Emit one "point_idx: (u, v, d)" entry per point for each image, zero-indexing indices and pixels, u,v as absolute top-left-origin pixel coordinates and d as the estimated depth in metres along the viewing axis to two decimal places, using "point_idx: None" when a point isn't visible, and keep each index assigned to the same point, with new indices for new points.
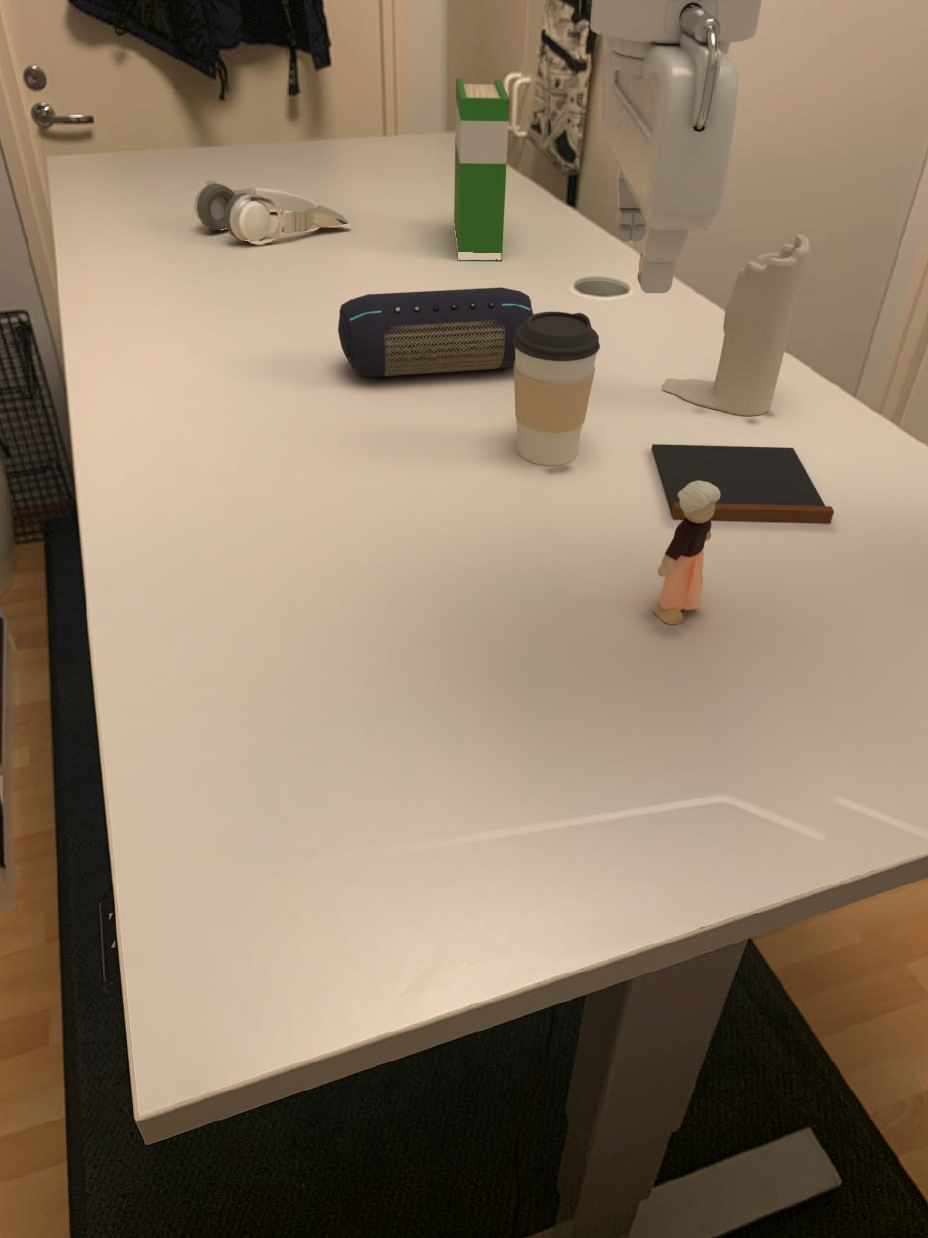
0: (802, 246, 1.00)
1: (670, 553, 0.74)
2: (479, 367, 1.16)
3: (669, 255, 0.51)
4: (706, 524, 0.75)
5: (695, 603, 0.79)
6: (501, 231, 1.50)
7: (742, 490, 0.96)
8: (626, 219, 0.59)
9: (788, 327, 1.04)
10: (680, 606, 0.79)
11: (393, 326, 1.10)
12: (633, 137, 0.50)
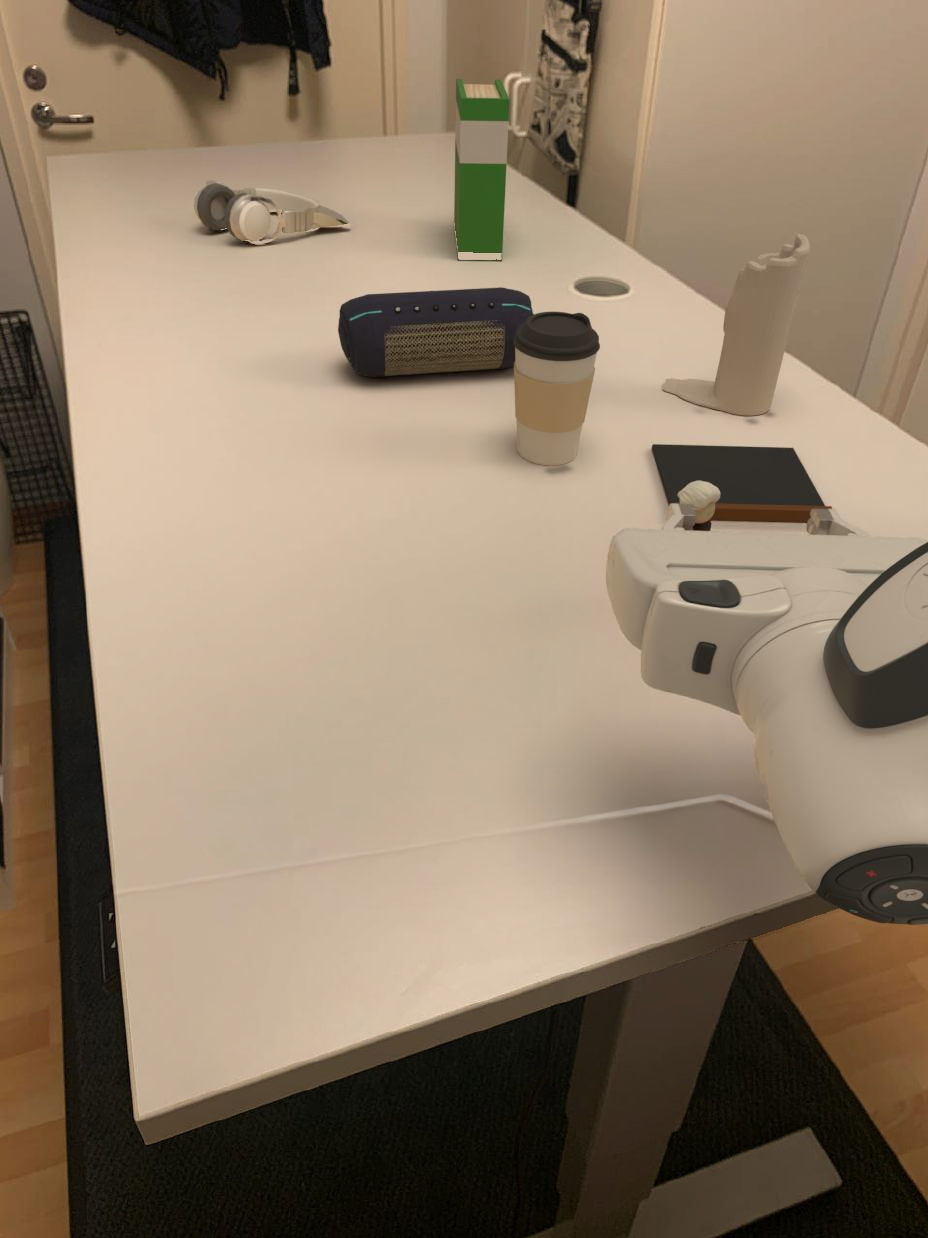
0: (802, 246, 1.00)
1: None
2: (479, 367, 1.16)
3: None
4: (706, 524, 0.75)
5: None
6: (501, 231, 1.50)
7: (742, 490, 0.96)
8: None
9: (788, 327, 1.04)
10: None
11: (393, 326, 1.10)
12: None
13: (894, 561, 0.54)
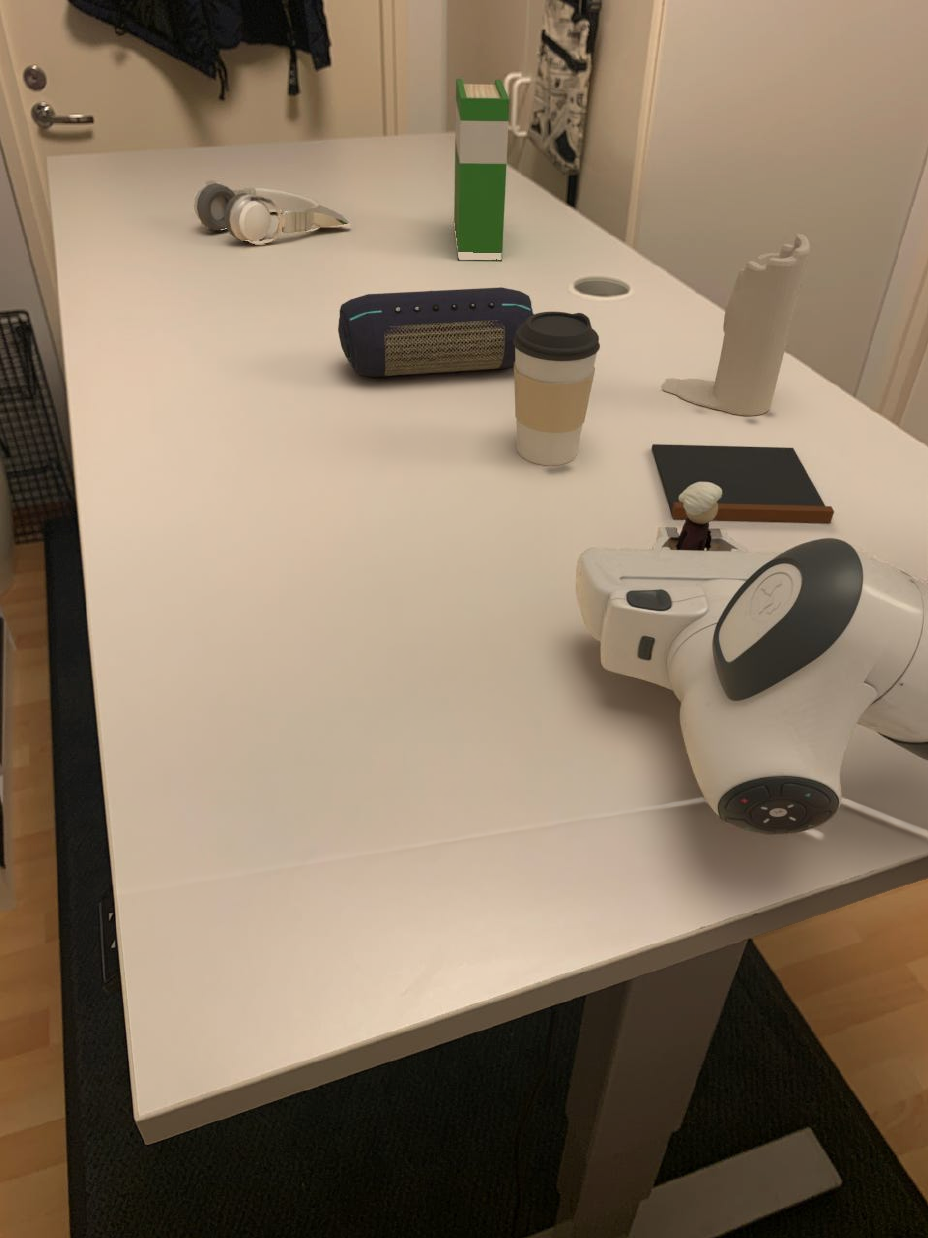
0: (802, 246, 1.00)
1: None
2: (479, 367, 1.16)
3: None
4: (708, 523, 0.76)
5: None
6: (501, 231, 1.50)
7: (742, 490, 0.96)
8: None
9: (788, 327, 1.04)
10: None
11: (393, 326, 1.10)
12: None
13: None
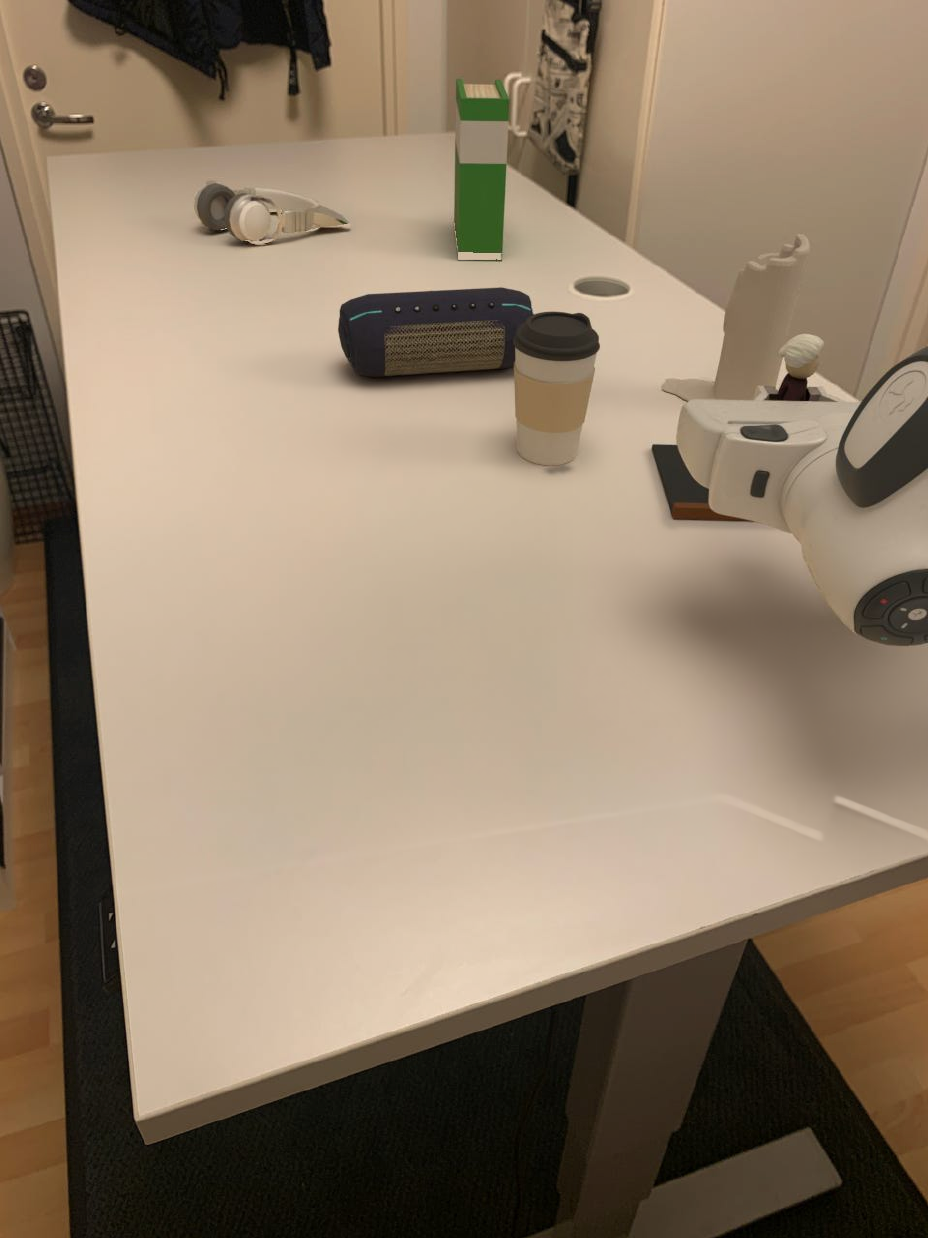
0: (802, 246, 1.00)
1: None
2: (479, 367, 1.16)
3: None
4: None
5: None
6: (501, 231, 1.50)
7: None
8: None
9: (788, 327, 1.04)
10: None
11: (393, 326, 1.10)
12: None
13: None
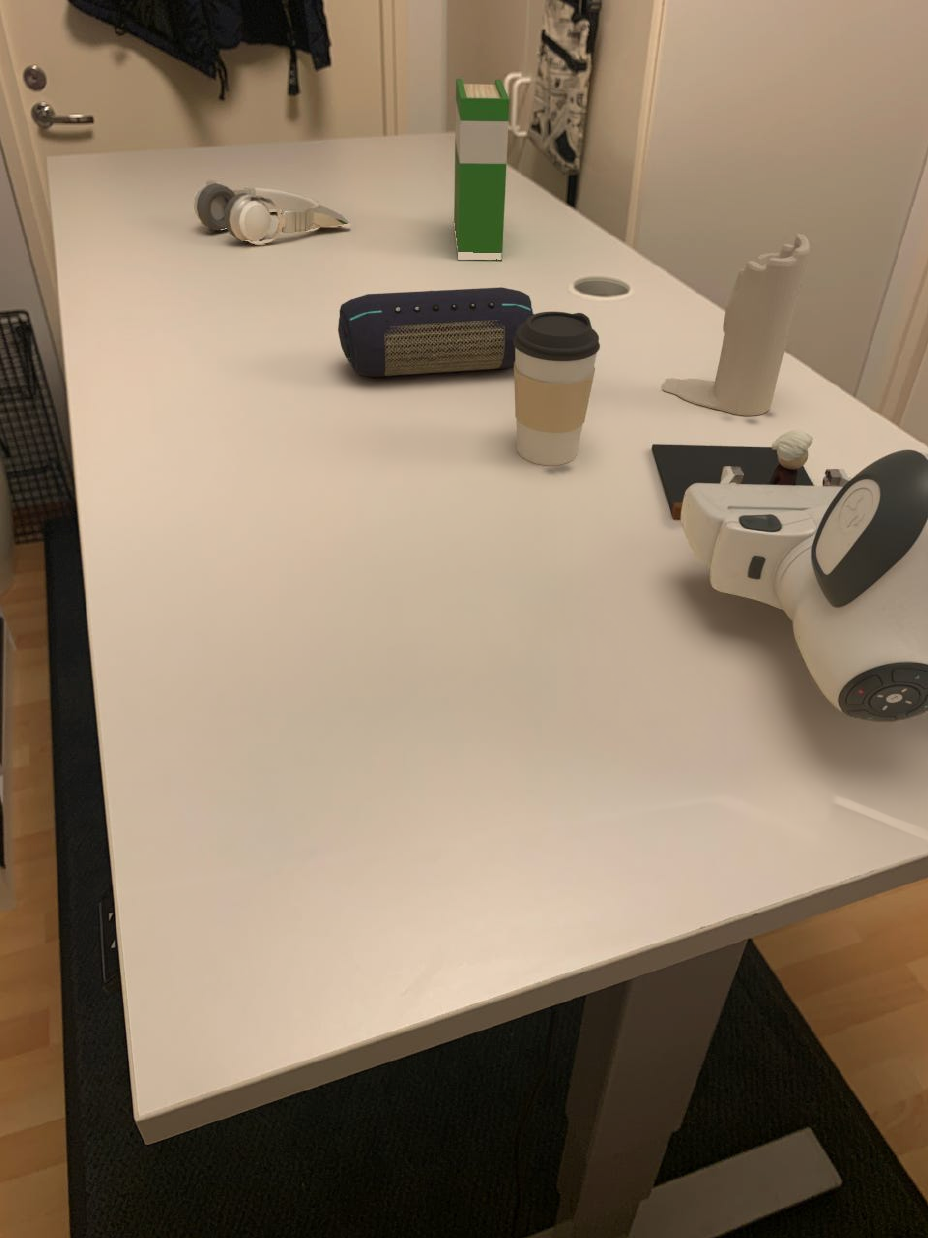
0: (802, 246, 1.00)
1: None
2: (479, 367, 1.16)
3: None
4: None
5: None
6: (501, 231, 1.50)
7: None
8: None
9: (788, 327, 1.04)
10: None
11: (393, 326, 1.10)
12: None
13: None
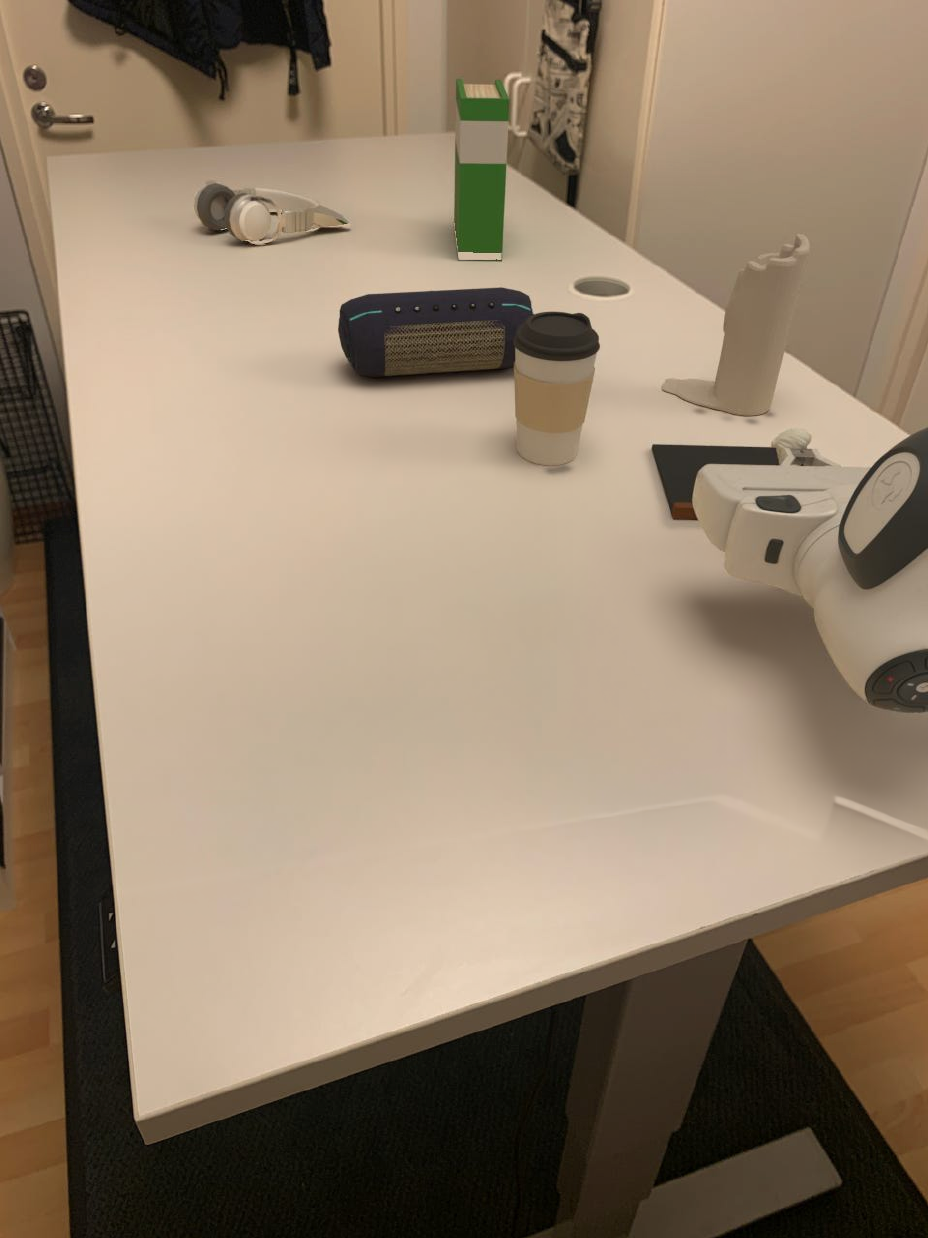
0: (802, 246, 1.00)
1: None
2: (479, 367, 1.16)
3: None
4: None
5: None
6: (501, 231, 1.50)
7: None
8: None
9: (788, 327, 1.04)
10: None
11: (393, 326, 1.10)
12: None
13: None
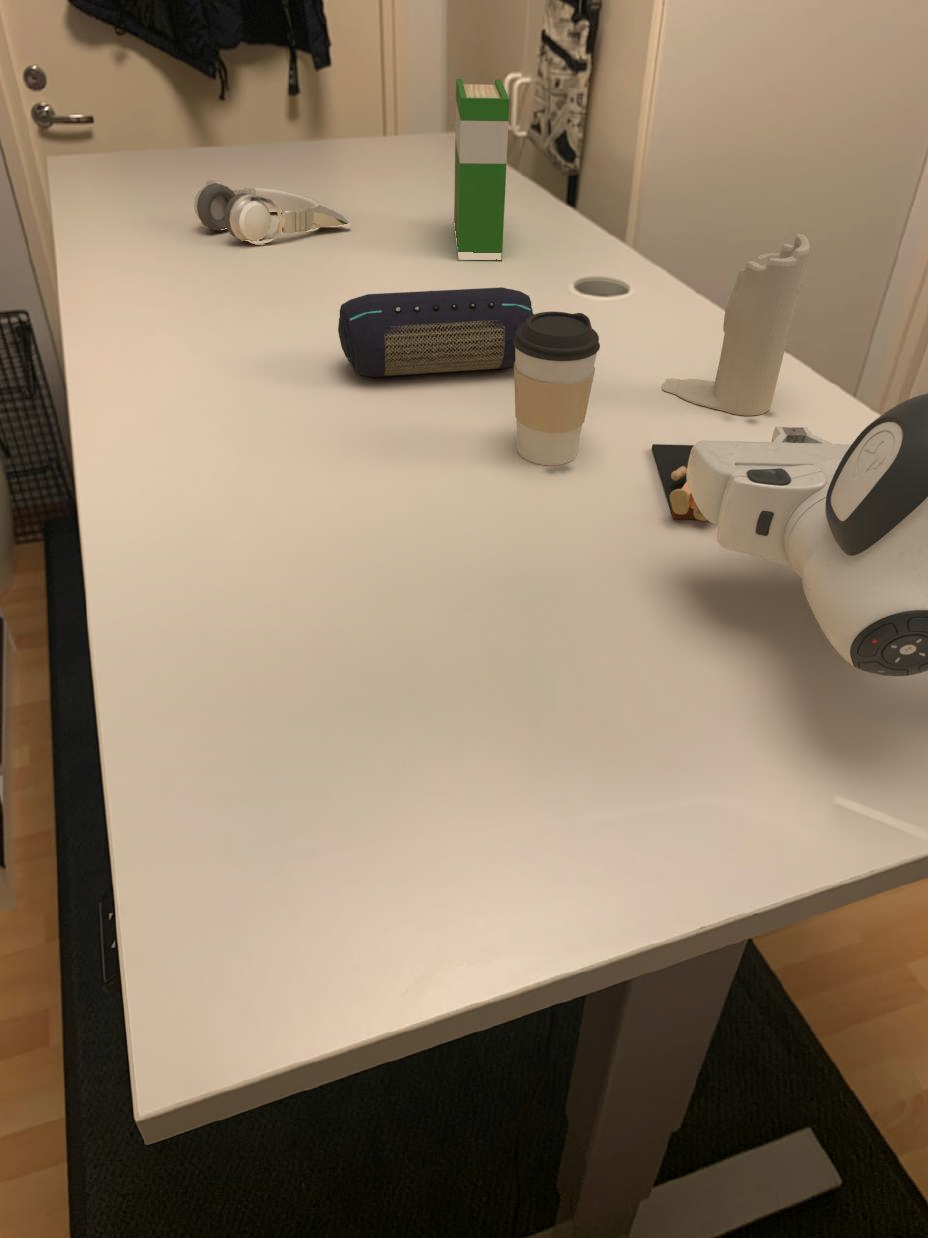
0: (802, 246, 1.00)
1: None
2: (479, 367, 1.16)
3: None
4: None
5: None
6: (501, 231, 1.50)
7: None
8: None
9: (788, 327, 1.04)
10: (689, 491, 0.90)
11: (393, 326, 1.10)
12: None
13: None
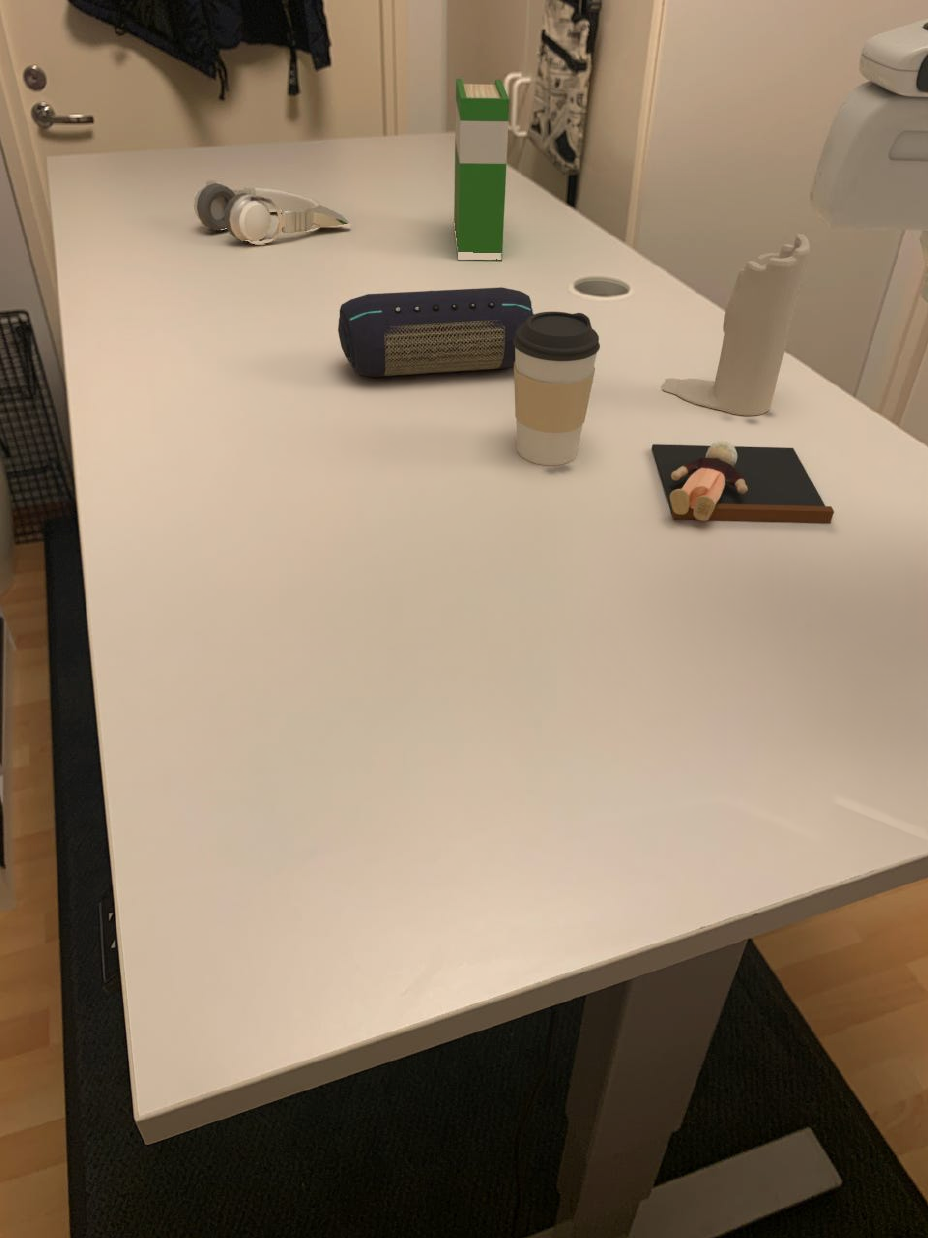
0: (802, 246, 1.00)
1: None
2: (479, 367, 1.16)
3: None
4: (723, 461, 0.95)
5: (699, 483, 0.89)
6: (501, 231, 1.50)
7: None
8: None
9: (788, 327, 1.04)
10: (689, 491, 0.90)
11: (393, 326, 1.10)
12: None
13: None
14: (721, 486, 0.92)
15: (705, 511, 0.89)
